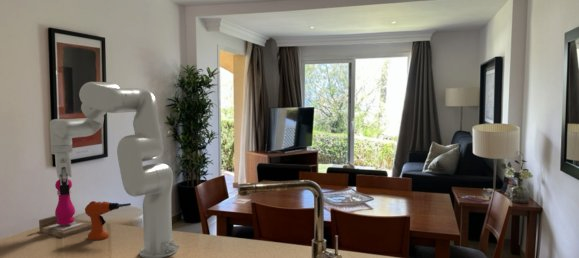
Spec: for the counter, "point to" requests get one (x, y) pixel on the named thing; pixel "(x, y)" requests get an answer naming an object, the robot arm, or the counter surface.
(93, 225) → the toy drill
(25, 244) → the counter surface
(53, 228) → the brown picture frame
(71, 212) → the pepper mill
